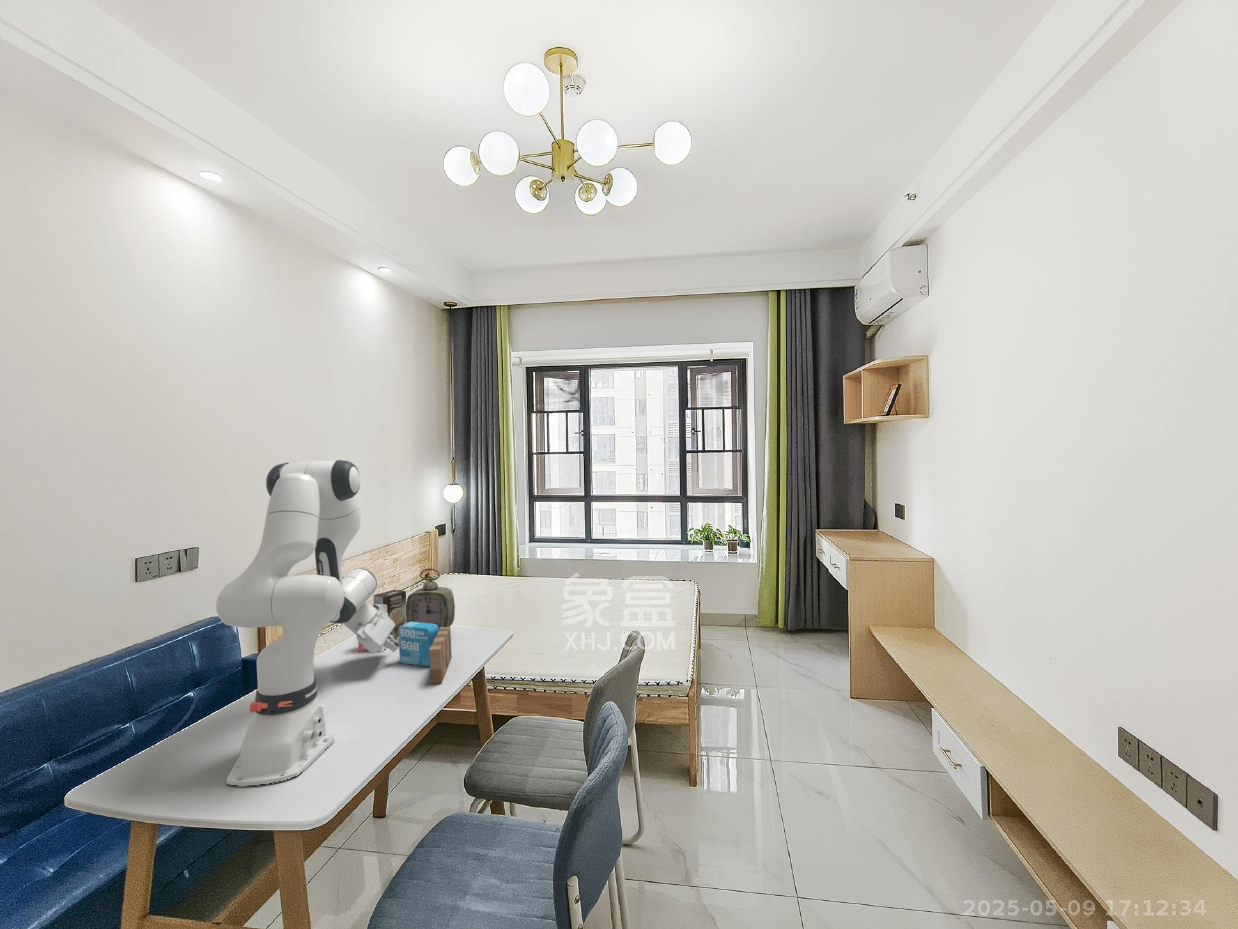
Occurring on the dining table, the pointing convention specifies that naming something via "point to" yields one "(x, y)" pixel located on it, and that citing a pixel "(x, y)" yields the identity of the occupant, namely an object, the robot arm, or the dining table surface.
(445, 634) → the walnut board
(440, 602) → the tabletop clock
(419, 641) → the data package
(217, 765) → the dining table surface
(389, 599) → the coffee box
